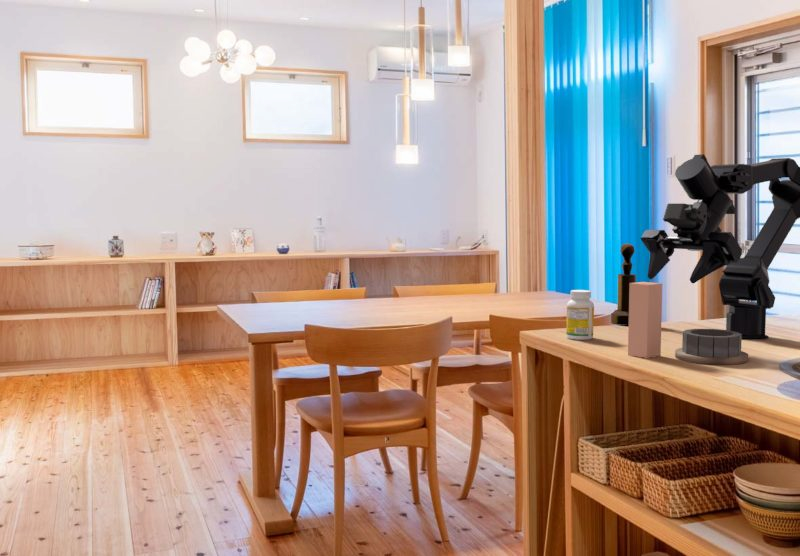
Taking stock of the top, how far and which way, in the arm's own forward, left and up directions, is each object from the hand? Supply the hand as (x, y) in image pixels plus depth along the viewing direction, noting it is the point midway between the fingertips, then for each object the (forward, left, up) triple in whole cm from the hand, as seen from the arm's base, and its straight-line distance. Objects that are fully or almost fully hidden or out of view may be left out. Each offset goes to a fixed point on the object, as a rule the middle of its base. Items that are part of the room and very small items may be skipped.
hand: (669, 279), depth 153 cm
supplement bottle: (+14, -13, -13) cm, 23 cm away
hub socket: (-5, +8, -13) cm, 16 cm away
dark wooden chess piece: (0, -33, -13) cm, 36 cm away
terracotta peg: (+6, +6, -13) cm, 15 cm away
